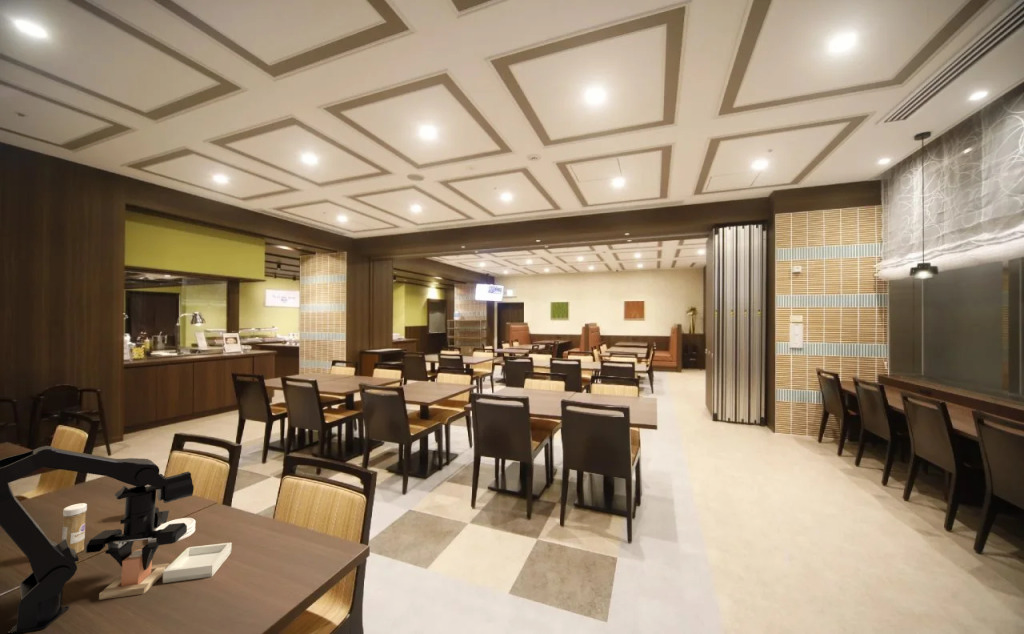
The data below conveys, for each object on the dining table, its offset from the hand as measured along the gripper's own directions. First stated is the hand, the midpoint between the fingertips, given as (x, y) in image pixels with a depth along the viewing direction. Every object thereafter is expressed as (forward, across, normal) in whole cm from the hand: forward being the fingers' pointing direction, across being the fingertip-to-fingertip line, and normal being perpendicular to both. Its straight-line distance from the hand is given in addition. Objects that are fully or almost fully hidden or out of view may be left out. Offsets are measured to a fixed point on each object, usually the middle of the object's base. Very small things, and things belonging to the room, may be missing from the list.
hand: (137, 570), depth 97 cm
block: (+3, 0, 0) cm, 3 cm away
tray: (+3, -12, -4) cm, 13 cm away
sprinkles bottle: (+4, +27, -20) cm, 34 cm away
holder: (+3, 0, 0) cm, 3 cm away
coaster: (+4, +4, -24) cm, 25 cm away
